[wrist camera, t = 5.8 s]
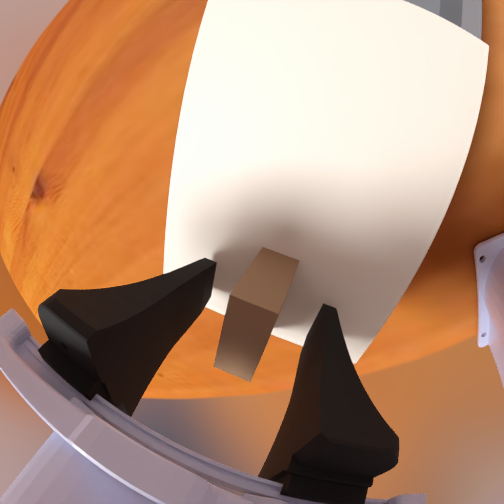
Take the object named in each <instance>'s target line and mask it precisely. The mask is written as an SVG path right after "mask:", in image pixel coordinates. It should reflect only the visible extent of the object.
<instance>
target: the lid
mask: <svg viewBox="0 0 504 504" xmlns="http://www.w3.org/2000/svg"><path fill="white" fill-rule="evenodd" d="M488 52H489V45H487V44H486V43H484V42H483V41H481V40H480V39H478V38H477V37H475V36H474V35H472V34H470V33H469V32H467V31H465V30H464V29H462V28H460V27H459V26H457V25H455V24H453V23H451V22H449V21H448V20H446V19H444V18H442V17H440V16H438V15H436V14H434V13H432V12H430V11H427V10H425V9H423V8H421V7H418V6H416V5H414V4H411V3H409V2H406V1H404V0H208V3H207V6H206V9H205V12H204V16H203V19H202V23H201V26H200V30H199V33H198V37H197V41H196V44H195V48H194V52H193V56H192V61H191V65H190V69H189V74H188V78H187V83H186V87H185V92H184V97H183V102H182V108H181V113H180V119H179V125H178V131H177V137H176V143H175V150H174V157H173V165H172V172H171V181H170V190H169V199H168V210H167V221H166V235H165V250H164V272H163V274H165V273H168V272H171V271H173V270H176V269H178V268H181V267H183V266H186V265H188V264H191V263H193V262H195V261H198V260H200V259H203V258H207V259H210V260H212V261H215V262H217V265H216V271H215V277H214V282H213V288H212V294H211V298H210V299H209V301H208V303H207V304H206V306H205V307H207V308H209V309H211V310H214V311H216V312H218V313H221V314H223V315H225V317H224V322H223V326H222V331H221V335H220V340H219V345H218V349H217V354H216V358H215V363H214V367H216V368H218V369H221V370H223V371H225V372H227V373H230V374H232V375H234V376H237V377H239V378H242V379H244V380H246V381H249V382H250V381H251V379H252V377H253V375H254V372H255V370H256V368H257V365H258V363H259V361H260V359H261V356H262V354H263V352H264V349H265V347H266V345H267V342H268V340H269V337H270V335H271V334H272V335H274V336H277V337H280V338H282V339H285V340H287V341H290V342H293V343H296V344H298V345H301V346H303V345H304V342H305V339H306V336H307V334H308V332H309V330H310V328H311V326H312V324H313V322H314V320H315V318H316V316H317V315H318V313H319V311H320V309H321V307H322V305H323V303H324V304H326V305H329V306H332V307H334V308H336V309H337V312H338V316H339V320H340V324H341V328H342V332H343V336H344V339H345V342H346V345H347V349H348V352H349V355H350V357H351V360H352V363H354V364H355V363H356V362H357V361H358V360H359V358H360V357H361V356H362V354H363V353H364V352H365V350H366V349H367V348H368V346H369V345H370V344H371V342H372V341H373V339H374V338H375V337H376V335H377V334H378V332H379V331H380V330H381V328H382V327H383V325H384V324H385V322H386V321H387V319H388V318H389V316H390V315H391V313H392V312H393V310H394V309H395V307H396V305H397V304H398V302H399V301H400V299H401V297H402V296H403V294H404V293H405V291H406V289H407V288H408V286H409V284H410V282H411V281H412V279H413V277H414V276H415V274H416V272H417V270H418V268H419V267H420V265H421V263H422V261H423V259H424V257H425V255H426V253H427V251H428V250H429V248H430V246H431V244H432V242H433V240H434V237H435V235H436V233H437V231H438V229H439V227H440V225H441V223H442V220H443V218H444V216H445V214H446V211H447V209H448V207H449V204H450V202H451V199H452V197H453V194H454V192H455V189H456V187H457V184H458V181H459V179H460V176H461V173H462V170H463V167H464V164H465V161H466V158H467V155H468V152H469V149H470V145H471V142H472V138H473V135H474V131H475V127H476V123H477V119H478V115H479V110H480V106H481V101H482V95H483V90H484V84H485V78H486V70H487V62H488Z"/></svg>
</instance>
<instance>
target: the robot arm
mask: <svg viewBox="0 0 504 504" xmlns="http://www.w3.org/2000/svg"><path fill="white" fill-rule="evenodd" d="M481 256H483V258H482V259H481V260H479V259H480V257H481ZM474 257H475V266H476V278H477V293H478V341H477V342H478V346H479V347H484V346H486V345H489V346H490V348H491V351H492V354H493V356H494V359H495V362H496V365H497V368H498V371H499V374H500V377H501V380H502V384H503V387H504V233H502V234H500V235H497V236H495V237H493V238H491V239H488V240H486V241H484V242H481V243H479V244H477V245H476V247H475V249H474ZM216 265H217V262H215V261H212V260H210V259H207V258H203V259H200V260H198V261H195V262H193V263H191V264H188V265H186V266H183V267H181V268H178V269H176V270H173V271H171V272H168V273H165V274H162V275H160V276H157V277H154V278H151V279H148V280H144V281H141V282H137V283H132V284H128V285H123V286H116V287H110V288H102V289H89V290H66V289H60V290H58V291H57V292H56V293H54V294H53V295H52V296H50V297H49V298H48V299H46V300H45V301H44V302H43V303H41V304H40V305H39V307H38V313H39V317H40V320H41V322H42V325H43V327H44V329H45V332H46V334H47V336H48V339H49V340H48V341H47V342H46V343H45V344H43V345H42V346H41V345H40V344H39V343H38V342H37V341H36V340H35V338H33V336H32V335H31V333H30V330H29V328H28V326H27V324H26V323H25V321H24V320H23V319H22V318H21V317H20V315H19V314H18V313H17V312H16V311H15V310H14V309H13V308H12V309H10V310H9V311H8V312H7V313H5V314H4V315H3V316H2V317H1V318H0V369H1V371H2V372H3V374H4V375H5V376H6V378H7V379H8V380H9V382H10V383H11V384H12V385H13V387H14V388H15V389H16V390H17V391H18V393H19V394H20V395H21V396H22V397H23V399H24V400H25V401H26V402H27V403H28V404H29V405H30V406H31V407H32V409H33V410H34V411H35V412H36V413H37V414H38V415H39V416H40V417H41V418H42V419H43V420H44V421H45V422H46V423H47V424H48V425H49V426H50V427H51V428H52V429H53V430H54V432H53V433H52V435H51V436H50V437H49V438H48V439H47V441H46V442H45V443H44V444H43V445H42V447H41V448H40V449H39V450H38V451H37V453H36V454H35V455H34V456H33V458H32V459H31V460H30V461H29V463H28V464H27V465H26V466H25V468H24V469H23V470H22V471H21V473H20V474H19V475H18V476H17V478H16V479H15V480H14V481H13V483H12V484H11V485H10V487H9V488H8V489H7V490H6V492H5V493H4V494H3V496H2V497H1V498H0V504H426V496H427V495H426V494H403V495H399V496H395V497H392V498H390V499H373V498H366V495H367V490H368V487H371V486H372V485H373V478H374V477H376V476H378V475H380V474H383V473H385V472H387V471H389V470H390V469H392V468H393V467H395V466H396V464H397V463H398V456H399V438H398V436H397V435H396V434H395V432H394V431H393V430H392V429H391V428H390V427H389V425H388V424H387V423H386V422H385V420H384V419H383V418H382V416H381V415H380V413H379V412H378V410H377V409H376V407H375V406H374V404H373V403H372V401H371V399H370V398H369V396H368V394H367V392H366V391H365V389H364V387H363V385H362V383H361V381H360V379H359V377H358V375H357V373H356V370H355V368H354V365H353V363H352V360H351V357H350V355H349V352H348V349H347V345H346V342H345V339H344V336H343V332H342V328H341V324H340V320H339V316H338V312H337V309H336V308H334V307H332V306H329V305H326V304H324V303H323V305H322V307H321V309H320V311H319V313H318V315H317V316H316V318H315V320H314V322H313V324H312V326H311V328H310V330H309V332H308V334H307V336H306V339H305V342H304V345H303V348H302V351H301V354H300V359H299V364H298V368H297V373H296V378H295V382H294V387H293V391H292V395H291V399H290V402H289V405H288V408H287V411H286V414H285V417H284V419H283V422H282V424H281V427H280V429H279V432H278V434H277V437H276V439H275V442H274V444H273V446H272V448H271V450H270V452H269V455H268V457H267V459H266V461H265V463H264V465H263V467H262V469H261V471H260V473H259V475H258V477H257V476H254V475H251V474H248V473H245V472H242V471H239V470H236V469H234V468H231V467H229V466H226V465H223V464H221V463H218V462H216V461H214V460H211V459H209V458H206V457H204V456H202V455H200V454H197V453H195V452H193V451H191V450H189V449H187V448H185V447H183V446H181V445H179V444H177V443H175V442H173V441H171V440H169V439H167V438H165V437H164V436H161V435H160V434H158V433H156V432H155V431H153V430H151V429H149V428H148V427H146V426H144V425H143V424H141V423H139V422H138V421H136V420H134V419H133V418H131V416H132V414H133V412H134V410H135V409H136V407H137V405H138V403H139V401H140V399H141V397H142V395H143V394H144V392H145V390H146V388H147V387H148V385H149V383H150V382H151V380H152V378H153V377H154V375H155V373H156V372H157V370H158V369H159V367H160V365H161V364H162V362H163V361H164V359H165V358H166V356H167V355H168V353H169V352H170V350H171V349H172V348H173V346H174V345H175V344H176V343H177V341H178V340H179V339H180V338H181V337H182V336H183V334H184V333H185V332H186V331H187V330H188V328H189V327H190V326H191V325H192V324H193V322H194V321H195V320H196V319H197V318H198V316H199V315H200V314H201V312H202V311H203V309H204V308H205V306H206V304H207V303H208V301H209V299H210V298H211V294H212V288H213V282H214V277H215V271H216ZM201 477H203V478H205V479H208V480H210V481H212V482H215V483H218V484H220V485H223V486H226V487H228V488H231V489H234V490H237V491H240V492H243V493H245V494H243V495H242V497H241V496H238V495H235V494H233V493H230V492H228V491H226V490H223V489H221V488H219V487H216V486H214V485H212V484H210V483H208V481H206V480H204V479H203V478H201Z"/></svg>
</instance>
